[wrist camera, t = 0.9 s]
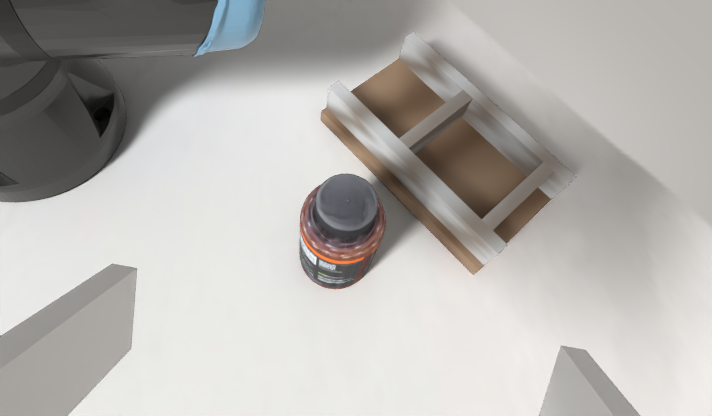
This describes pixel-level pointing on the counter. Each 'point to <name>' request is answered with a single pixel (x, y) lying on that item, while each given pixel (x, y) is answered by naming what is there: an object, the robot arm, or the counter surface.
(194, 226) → the counter surface
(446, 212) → the wooden divided tray
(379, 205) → the supplement bottle
